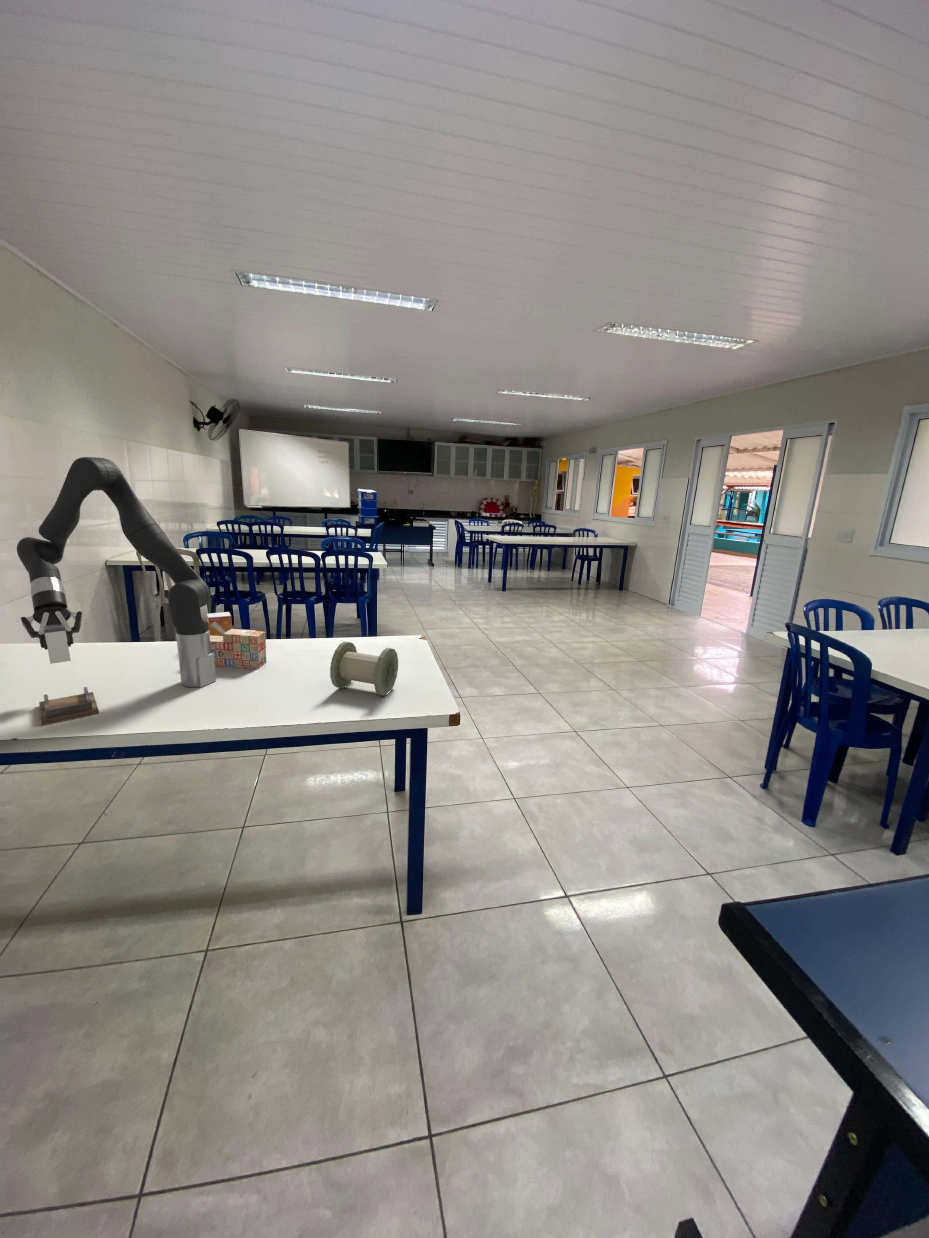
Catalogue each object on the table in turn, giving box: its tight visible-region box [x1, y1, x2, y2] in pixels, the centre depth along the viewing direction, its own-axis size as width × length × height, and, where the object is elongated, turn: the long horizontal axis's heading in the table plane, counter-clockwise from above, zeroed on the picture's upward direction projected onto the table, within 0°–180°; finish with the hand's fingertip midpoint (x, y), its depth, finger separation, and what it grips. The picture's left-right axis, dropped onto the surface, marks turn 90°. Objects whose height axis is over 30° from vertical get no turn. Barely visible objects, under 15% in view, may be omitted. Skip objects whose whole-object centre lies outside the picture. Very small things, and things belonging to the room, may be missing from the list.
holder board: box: [38, 686, 100, 726], centre depth 133 cm, size 14×12×3 cm
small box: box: [205, 611, 233, 636], centre depth 188 cm, size 8×6×13 cm
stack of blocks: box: [210, 628, 267, 670], centre depth 171 cm, size 21×6×12 cm, turn 87°
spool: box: [329, 641, 399, 697], centre depth 156 cm, size 16×15×15 cm
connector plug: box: [44, 624, 71, 665], centre depth 137 cm, size 4×4×10 cm
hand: (57, 646), depth 135 cm, fingers closed on connector plug, 4 cm apart
